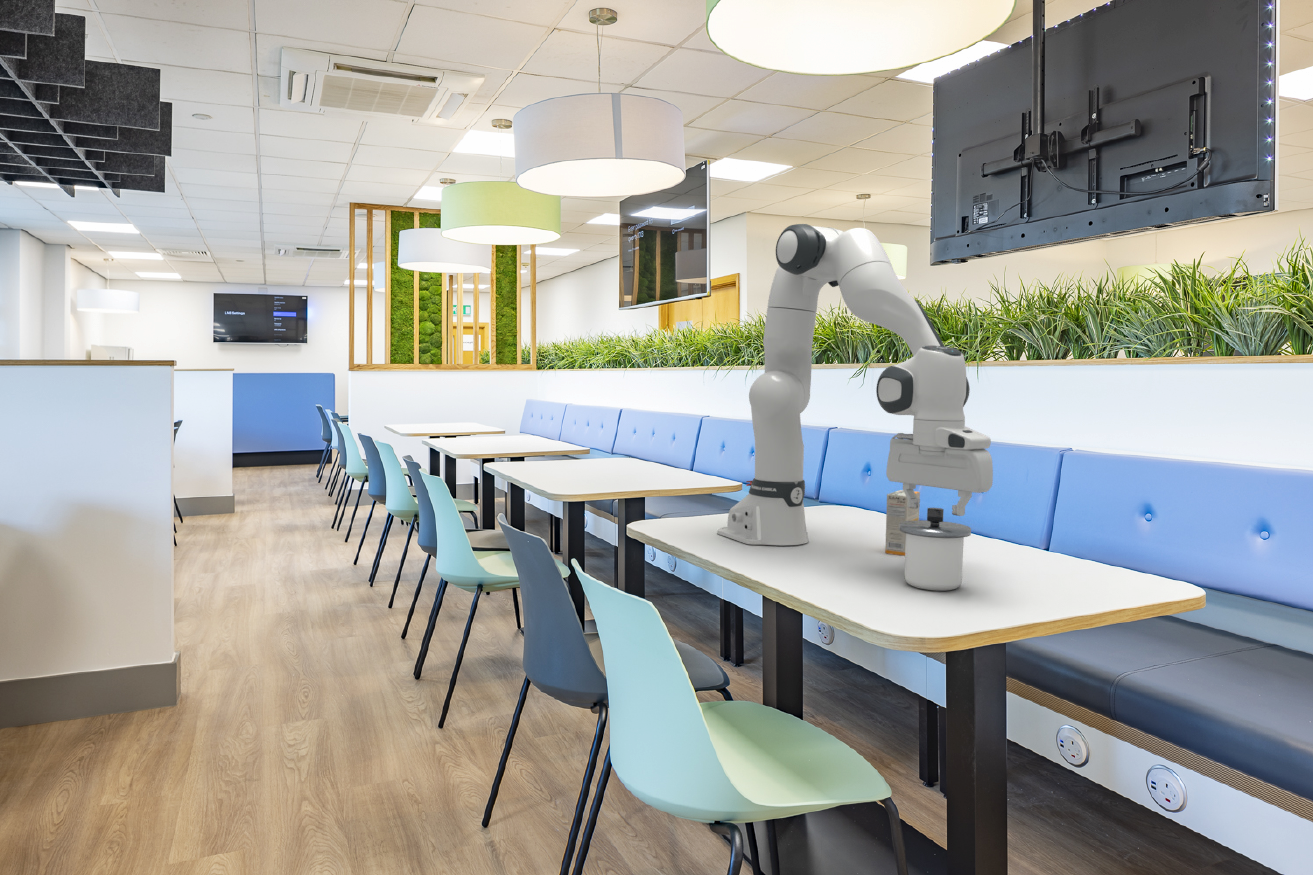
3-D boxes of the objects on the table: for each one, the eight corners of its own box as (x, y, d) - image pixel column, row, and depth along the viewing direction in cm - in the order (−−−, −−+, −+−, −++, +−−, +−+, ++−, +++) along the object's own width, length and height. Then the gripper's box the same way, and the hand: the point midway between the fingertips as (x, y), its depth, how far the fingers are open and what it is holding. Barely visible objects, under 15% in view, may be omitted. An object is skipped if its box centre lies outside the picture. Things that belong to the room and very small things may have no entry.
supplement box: (897, 547, 188) (899, 489, 187) (918, 550, 185) (920, 491, 184) (883, 553, 181) (885, 493, 180) (905, 556, 178) (907, 495, 177)
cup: (965, 594, 148) (967, 538, 147) (906, 590, 150) (908, 535, 149) (957, 580, 157) (959, 528, 157) (902, 577, 159) (903, 525, 159)
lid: (886, 530, 153) (887, 508, 153) (919, 523, 162) (920, 501, 161) (951, 541, 144) (952, 516, 144) (982, 532, 153) (983, 509, 153)
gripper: (880, 432, 158) (878, 505, 159) (978, 440, 142) (975, 521, 143) (901, 431, 162) (898, 502, 163) (999, 439, 145) (996, 518, 146)
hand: (935, 511), depth 153 cm, fingers open, 8 cm apart
